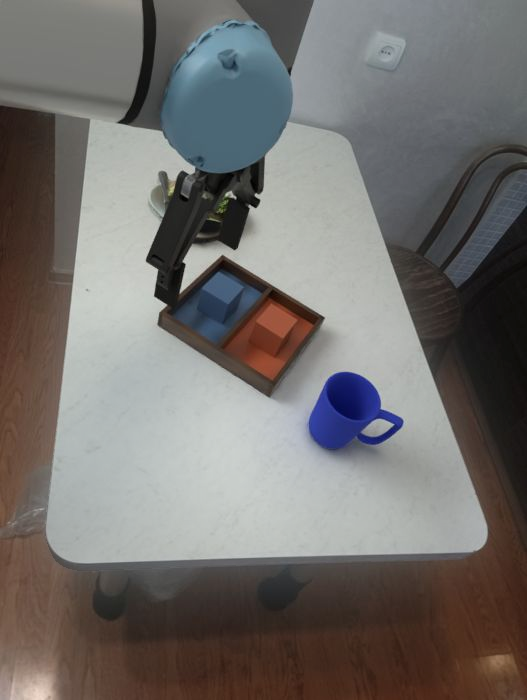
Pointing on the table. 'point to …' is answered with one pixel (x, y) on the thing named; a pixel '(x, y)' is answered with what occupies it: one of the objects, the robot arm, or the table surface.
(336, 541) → the table surface
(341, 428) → the mug
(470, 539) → the table surface
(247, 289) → the tray
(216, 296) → the blue block
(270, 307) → the terracotta block
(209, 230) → the salad plate
